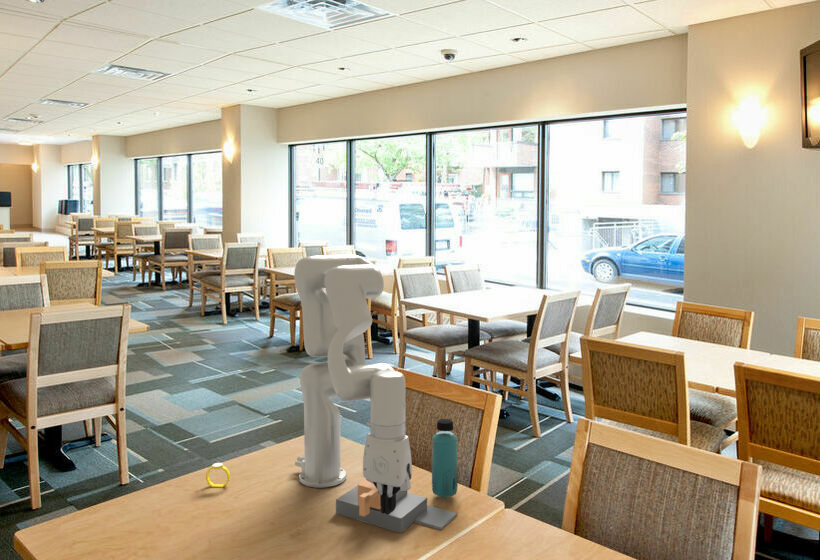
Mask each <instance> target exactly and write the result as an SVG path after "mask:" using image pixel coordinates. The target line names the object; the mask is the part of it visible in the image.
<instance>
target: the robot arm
mask: <svg viewBox="0 0 820 560" xmlns="http://www.w3.org/2000/svg"><path fill="white" fill-rule="evenodd" d="M293 274H294V275H293V277H294V285H295V288H296V292H297V294H298V297H299V300H300V303H301V310H302V331H303V332H302V333H303V343H304V345H303V346H304V349H305V352H306V355H309V356H310V357H313V358H324V357H325V358H326V357H327V360H326V361H321V362H314V363H310V364H308V365H306V366H305V367H303V369H302V370H301V372H300V376H299V383H300V388H301V394H302V400H303V401H302V403H303V413H304V414H303V418H304V419H303V424H304V426H303V428H304V430H303V431H304V434H303V435H304V438H303V439H304V456H302V455H298V456H297V458H296V460H295V462H294V466H295V467H299V468H301V471H300V472H299V475H298V480H299V482H300V483H301V484H302V485H303V486H306V487H309V488H310V487H311V488H317V489H318V488H319V489H322V488H330V487H335V486H338V485H340V484H342V483H344V482H345V481H346V479H347V471H346V470H345V469H344V468H342V467H341V464H342V462H341V460H342V459H341V453H342V452H341V450H342V449H341V446H342V445H341V413H340V410H339V408H338V407H337V406H336V404H335V403H333V401H332V399H333V398H339V399H340V400H341V401H344V402H355V401H360V400H361V401H362V400H369V401H370V402H369V404H370V405H369V406H370V408H369V409H370V416H369V418H370V419H368V420H366V424H365V425H366V426H367V427H369V433H367V435H366V438H365V442H364V448H363V457H362V459H363V460H362V475H363V477H364V479H365V480H367V481H369V482H370V483H372V484H374V485H375V487H376V488H377V490H378V494H379V495H380V506H381V513H383V514H384V513H385V514H386V515H389V514H390V513H391V512H393V511H394V510H395V508H396V493H398V492H399V491H407V492H408V491H409V490H411V488H412V485H411V481H410V480H411V479H412V475H413V468H412V466H413V464H412V451H411V445H410V439H409V436H408V435H406V407H407V406H406V394H407V393H406V392H407V391H406V388H407V387H406V385H407V384H406V377H405V375H404V374H403V373H402V372H400V371H397V370H395V369H394V367H393V366H391V364H388V363H385V362H378V363H370V364H368V363H367V364H366V352H365V351H366V349H365V348H366V347H365V336H364V333H365V332H367V331H368V330H369V329H370V328H371V326H372V324H373V318H372V317H373V316H372V314H371V311H370V307H369V305H368V302H367V299H376V298H379V297H380V296H381V295H382V293H383V292H384V287H385V283H384V277H383V275H382V272H381V270H380V269H379V268H378V267H377V265H376V264H374V263H372V262H371V261H369V260H367V259H366V258H364V257H362V256H360V255H357V254H320V255H310V256H305V257H302V258H301V259H299V260H298V261H297V263H296V264H295V267H294V273H293Z"/></svg>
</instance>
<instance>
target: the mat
mask: <svg viewBox="0 0 820 560" xmlns="http://www.w3.org/2000/svg"><path fill="white" fill-rule="evenodd" d="M457 516H458V513H457V512H454V511H451V510H446V509H443V508H440V507H435V506H432V505H429V504H427V510H426V511H424V512H423V513H422V514H421V515H420V516H418V517H417V518H416V519H415V520H414V523H416V524H420V525H423V526H426V527H430V528H432V527H433V529H435V530H436V529H437V530H439V531H442V530H443V529H444V528H445V527H446V526H448V525H449V522H450V523H451V522H452V521H453V520H454V519H455V518H456V517H457Z"/></svg>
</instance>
